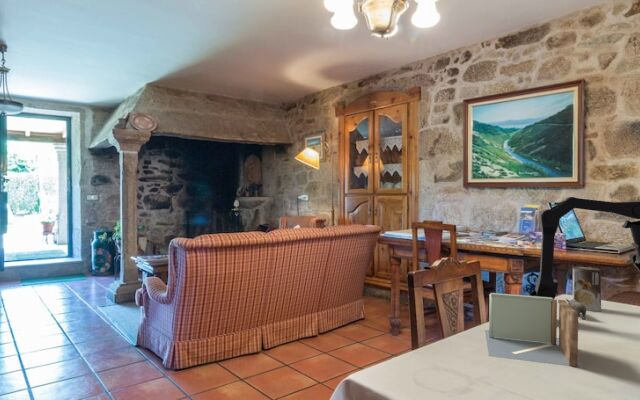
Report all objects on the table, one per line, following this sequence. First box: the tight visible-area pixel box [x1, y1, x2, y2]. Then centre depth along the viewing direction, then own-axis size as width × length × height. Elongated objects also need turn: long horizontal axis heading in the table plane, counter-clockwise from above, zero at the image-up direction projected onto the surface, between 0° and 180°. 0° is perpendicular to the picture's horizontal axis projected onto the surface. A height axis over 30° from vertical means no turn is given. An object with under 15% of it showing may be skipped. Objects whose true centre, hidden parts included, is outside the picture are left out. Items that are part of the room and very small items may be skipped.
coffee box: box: [572, 266, 602, 313], centre depth 162 cm, size 9×6×16 cm
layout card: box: [484, 329, 585, 369], centre depth 120 cm, size 23×22×1 cm
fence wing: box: [488, 292, 558, 344], centre depth 124 cm, size 2×18×14 cm, turn 70°
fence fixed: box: [557, 299, 579, 368], centre depth 112 cm, size 16×2×14 cm, turn 161°
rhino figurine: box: [565, 298, 587, 321], centre depth 152 cm, size 4×14×6 cm, turn 168°
